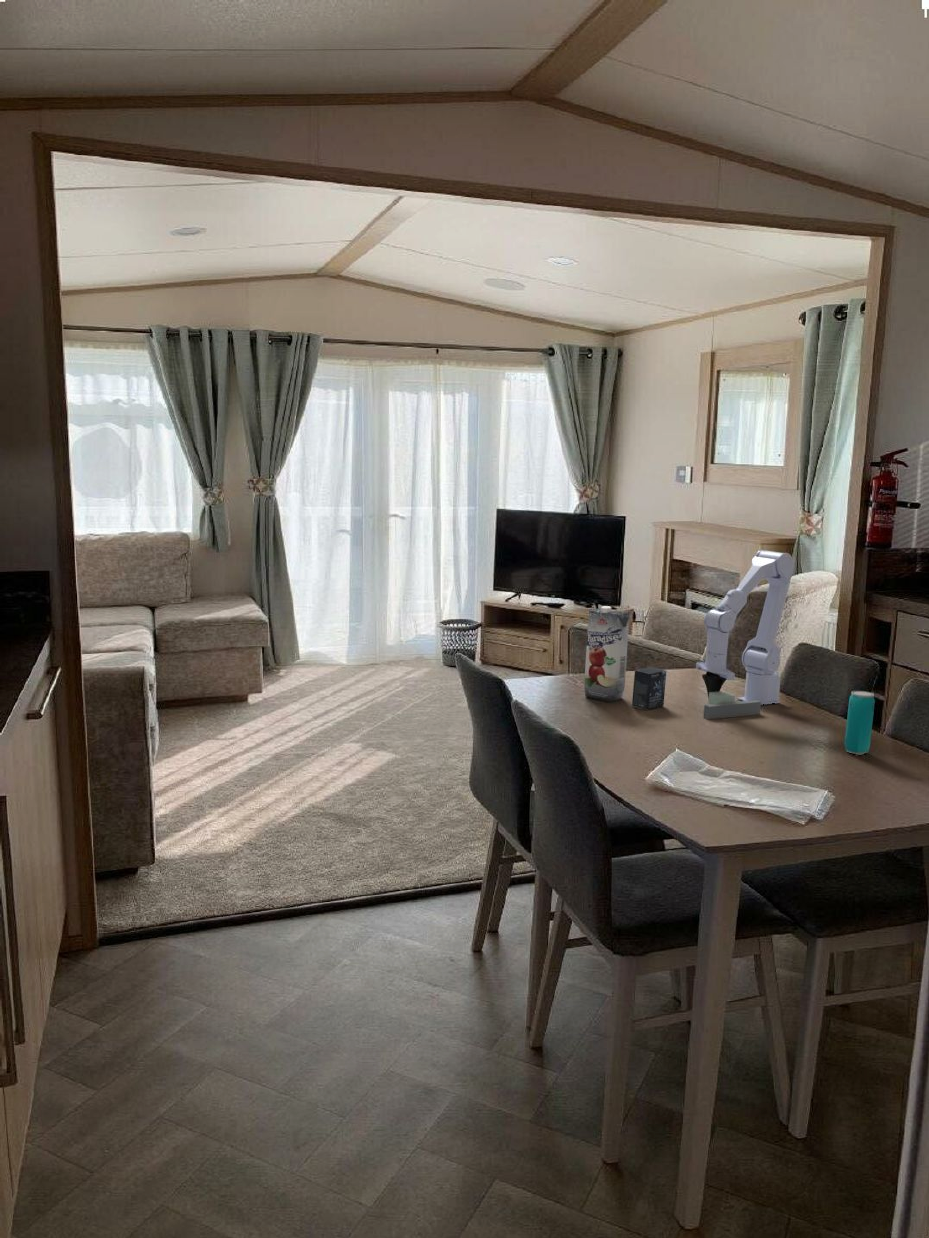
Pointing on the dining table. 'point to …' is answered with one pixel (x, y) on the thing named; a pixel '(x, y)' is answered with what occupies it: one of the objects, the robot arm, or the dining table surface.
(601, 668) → the juice carton
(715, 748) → the dining table surface
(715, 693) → the block
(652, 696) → the box
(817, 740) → the dining table surface
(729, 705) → the board
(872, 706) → the beverage can
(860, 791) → the dining table surface
